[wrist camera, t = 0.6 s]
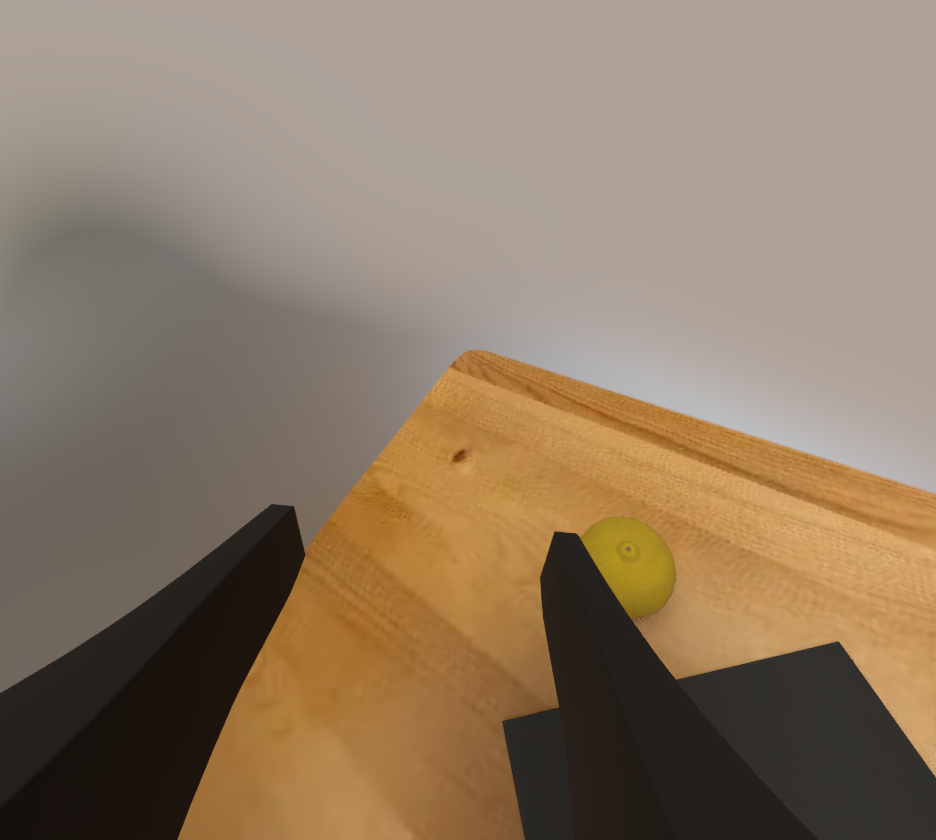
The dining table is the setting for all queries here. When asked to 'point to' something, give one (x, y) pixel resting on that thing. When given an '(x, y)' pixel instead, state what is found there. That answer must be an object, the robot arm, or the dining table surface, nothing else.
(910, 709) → the dining table surface
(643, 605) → the lemon
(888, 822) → the mat
